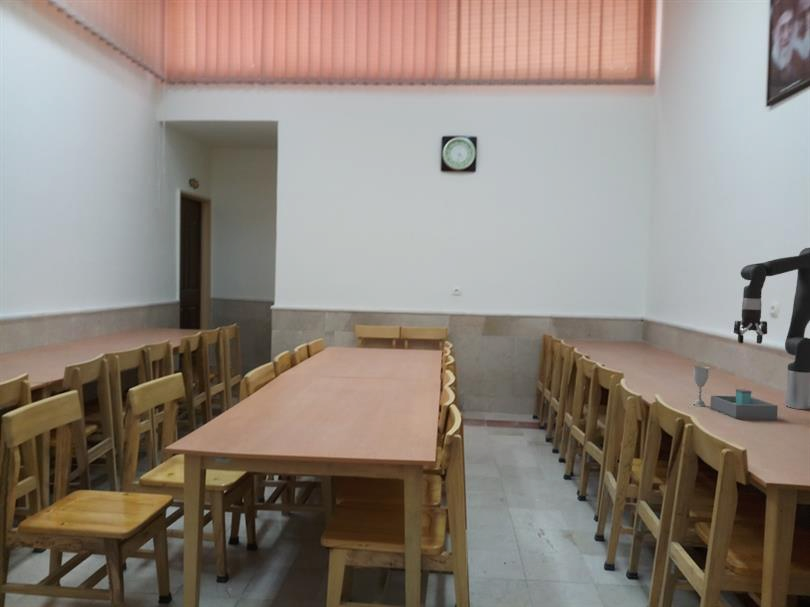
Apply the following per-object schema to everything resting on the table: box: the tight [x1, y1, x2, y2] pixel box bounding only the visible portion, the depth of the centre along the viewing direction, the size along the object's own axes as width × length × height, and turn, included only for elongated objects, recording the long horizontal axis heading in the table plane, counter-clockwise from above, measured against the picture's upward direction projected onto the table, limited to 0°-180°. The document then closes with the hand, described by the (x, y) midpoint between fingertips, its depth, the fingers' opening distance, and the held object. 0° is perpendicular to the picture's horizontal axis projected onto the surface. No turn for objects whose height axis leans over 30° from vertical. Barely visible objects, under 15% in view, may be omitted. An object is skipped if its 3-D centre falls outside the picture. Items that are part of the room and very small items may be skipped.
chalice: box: [692, 365, 710, 407], centre depth 254 cm, size 7×7×18 cm
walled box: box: [709, 395, 779, 420], centre depth 238 cm, size 18×18×6 cm
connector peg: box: [735, 388, 752, 405], centre depth 238 cm, size 4×4×10 cm
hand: (749, 343), depth 249 cm, fingers open, 8 cm apart
